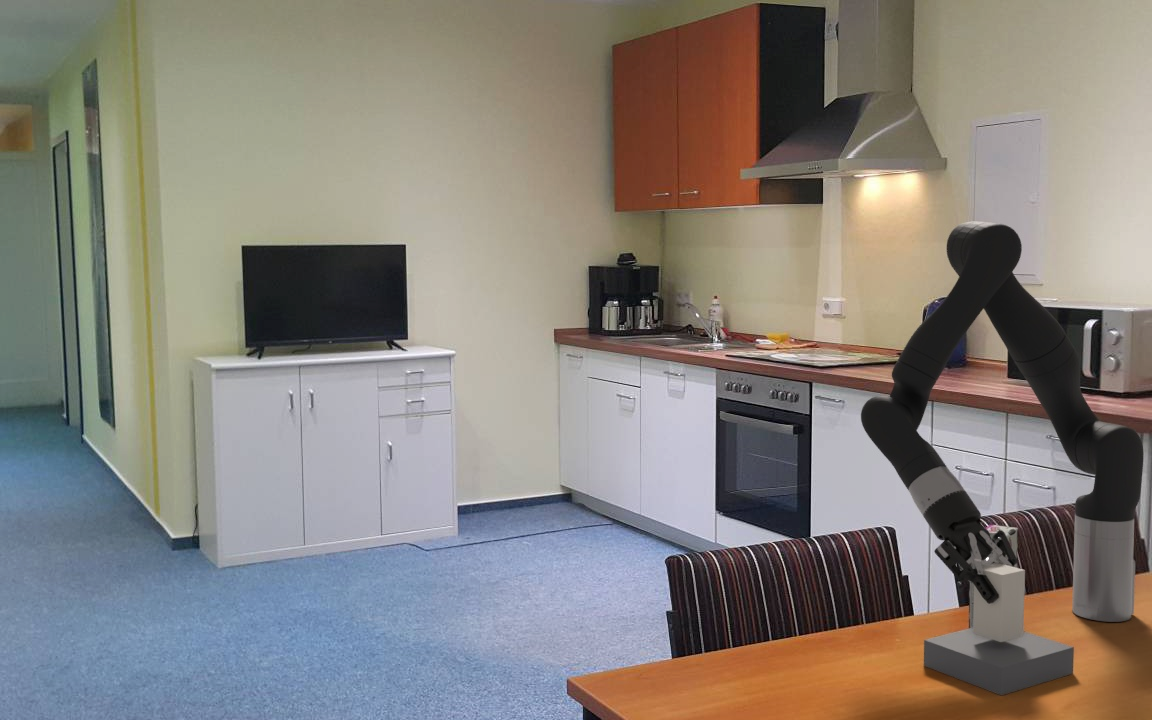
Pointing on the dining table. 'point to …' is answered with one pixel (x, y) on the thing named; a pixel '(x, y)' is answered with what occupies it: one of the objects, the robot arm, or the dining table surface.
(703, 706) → the dining table surface
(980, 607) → the cream block
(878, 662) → the dining table surface
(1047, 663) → the base board
